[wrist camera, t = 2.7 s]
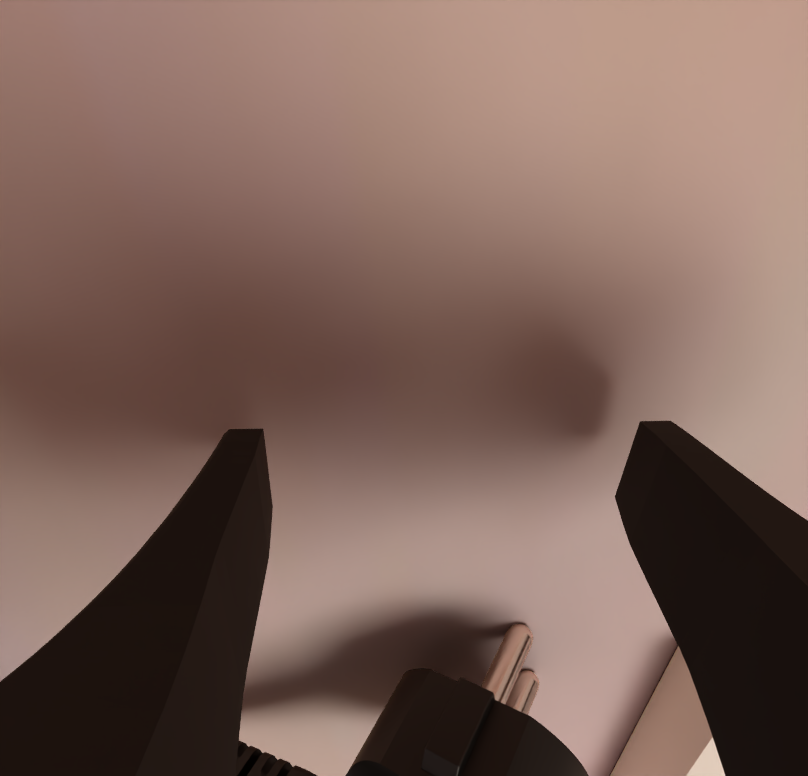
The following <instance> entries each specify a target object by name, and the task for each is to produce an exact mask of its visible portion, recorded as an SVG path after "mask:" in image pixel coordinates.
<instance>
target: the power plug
mask: <svg viewBox="0 0 808 776" xmlns="http://www.w3.org/2000/svg"><path fill="white" fill-rule="evenodd" d="M532 642H533V635H532V632H531V631H530V629H529V628H528V627H527V626H525V625H523V624H515V625H512V626H511V627H509V629H508V630H507V632H506V634H505V636H504V639H503V641H502V643H501V645H500V647H499V649H498V651H497V653H496V655H495V657H494V659H493V662H492V664H491V666H490V668H489V670H488V672H487V674H486V676H485V678H484V680H483V683H482V685H481V686H479V685H476V684H474V683H472V682H470V681H468V680H466V679H463V678H460V679H459V681H458V682H457V681H454V680H452V679H450V678H448V677H446V676H444V675H442V674H440V673H437V672H435V671H433V670H431V669H413V670H409V671H407V672H406V673H405V674H404V675H403V676H402V678H401V680H400V682H399V684H398V685H397V687H396V689H395V691H394V692H393V694H392V696H391V698H390V699H389V701H388V703H387V705H386V706H385V708H384V710H383V712H382V713H381V715H380V717H379V719H378V720H377V722H376V724H375V726H374V727H373V729H372V731H371V733H370V734H369V736H368V738H367V740H366V741H365V743H364V745H363V747H362V748H361V750H360V752H359V754H358V755H357V757H356V759H355V761H354V762H353V764H352V766H351V768H350V769H349V771H348V773H347V774H346V776H588V774H587V772H586V770H585V769H584V767H583V766H582V764H581V763H580V762H579V760H578V759H577V758H576V757H575V755H574V754H573V753H572V752H571V751H570V750H569V749H568V748H567V747H566V746H565V745H564V744H563V743H562V742H561V741H560V740H559V739H558V738H557V737H556V736H555V735H553V734H552V733H551V732H550V731H549V730H547V729H546V728H545V727H544V726H543V725H541V724H540V723H539V722H537V721H536V720H535V719H533V718H532V717H531V716H529V715H528V713H529V711H530V708H531V706H532V703H533V701H534V698H535V696H536V694H537V691H538V688H539V680H538V678H537V676H536V675H535V674H534V673H533V672H532V671H530V670H522V671H520V670H521V668H522V666H523V664H524V661H525V659H526V657H527V655H528V652H529V650H530V648H531V645H532ZM235 776H317V775H315V774H313V773H311V772H310V771H308V770H306V769H303V768H301V767H298V766H294V767H292V765H291V764H290V763H289V762H287V761H285V760H282V759H279V760H277V759H276V758H275V756H273V755H271V754H269V753H266V752H265V753H262V752H261V751H260V750H259V749H257V748H255V747H253V746H249V747H248V746H247V745H246V743H243V742H241V741H239V740H238V750H237V762H236V773H235Z"/></svg>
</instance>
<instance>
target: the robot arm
mask: <svg viewBox="0 0 808 776" xmlns="http://www.w3.org/2000/svg"><path fill="white" fill-rule="evenodd" d="M615 498H616V502H617V505H618V509H619V512H620V515H621V519H622V522H623V525H624V528H625V531H626V534H627V537H628V540H629V543H630V545H631V547H632V550H633V552H634V554H635V556H636V558H637V560H638V563H639V565H640V567H641V569H642V571H643V573H644V575H645V578H646V580H647V582H648V584H649V586H650V588H651V590H652V592H653V594H654V596H655V598H656V600H657V603H658V605H659V607H660V609H661V611H662V613H663V615H664V617H665V619H666V621H667V623H668V625H669V627H670V630H671V632H672V634H673V636H674V638H675V640H676V642H677V644H678V646H679V648H680V651H681V653H682V655H683V658H684V660H685V662H686V665H687V667H688V669H689V672H690V675H691V677H692V680H693V683H694V686H695V688H696V691H697V694H698V697H699V699H700V702H701V705H702V708H703V711H704V713H705V716H706V719H707V722H708V725H709V728H710V731H711V734H712V737H713V740H714V743H715V746H716V749H717V752H718V755H719V758H720V761H721V764H722V767H723V770H724V773H725V776H808V521H807V520H806V519H804V518H803V517H801V516H800V515H799V514H797V513H796V512H794V511H793V510H791V509H790V508H788V507H787V506H785V505H784V504H783V503H781V502H780V501H778V500H777V499H776V498H774V497H773V496H771V495H770V494H769V493H767V492H766V491H765V490H763V489H762V488H760V487H759V486H758V485H756V484H755V483H754V482H752V481H751V480H750V479H748V478H747V477H746V476H744V475H743V474H742V473H740V472H739V471H738V470H736V469H735V468H734V467H732V466H731V465H730V464H728V463H727V462H726V461H724V460H723V459H722V458H720V457H719V456H718V455H717V454H715V453H714V452H713V451H711V450H710V449H709V448H707V447H706V446H705V445H703V444H702V443H701V442H699V441H698V440H697V439H695V438H694V437H693V436H691V435H690V434H689V433H687V432H686V431H684V430H683V429H682V428H680V427H679V426H677V425H676V424H674V423H673V422H671V421H640V423H639V426H638V429H637V432H636V435H635V438H634V441H633V444H632V447H631V450H630V453H629V456H628V459H627V462H626V465H625V468H624V471H623V474H622V477H621V480H620V483H619V486H618V489H617V492H616V495H615ZM272 508H273V506H272V498H271V490H270V481H269V473H268V465H267V456H266V448H265V440H264V432H263V429H229V430H228V431H227V432H226V433H225V434H224V435H223V437H222V439H221V440H220V442H219V443H218V445H217V447H216V448H215V450H214V451H213V453H212V455H211V456H210V458H209V459H208V461H207V462H206V464H205V465H204V467H203V468H202V470H201V471H200V473H199V474H198V475H197V477H196V478H195V480H194V481H193V483H192V484H191V485H190V487H189V488H188V490H187V491H186V492H185V494H184V495H183V496H182V498H181V499H180V500H179V502H178V503H177V504H176V506H175V507H174V508H173V510H172V511H171V512H170V514H169V515H168V516H167V518H166V519H165V520H164V521H163V523H162V524H161V525H160V526H159V527H158V529H157V530H156V531H155V532H154V533H153V535H152V536H151V537H150V538H149V539H148V541H147V542H146V543H145V544H144V545H143V547H142V548H141V549H140V550H139V551H138V553H137V554H136V555H135V556H134V557H133V558H132V559H131V560H130V562H129V563H128V564H127V565H126V566H125V567H124V568H123V569H122V570H121V571H120V573H119V574H118V575H117V576H116V577H115V578H114V579H113V580H112V581H111V582H110V583H109V584H108V585H107V586H106V587H105V588H104V589H103V590H102V591H101V592H100V593H99V594H98V595H97V596H96V597H95V598H94V599H93V600H92V601H91V602H90V603H89V604H88V605H87V606H86V607H85V608H84V609H83V610H82V611H81V612H80V613H79V614H78V615H77V616H76V617H75V618H73V619H72V620H71V621H70V622H69V623H68V624H67V625H66V626H65V627H64V628H63V629H62V630H61V631H60V632H59V633H58V634H56V635H55V636H54V637H53V638H52V639H51V640H50V641H49V642H47V643H46V644H45V645H44V646H43V647H42V648H41V649H39V650H38V651H37V652H36V653H35V654H34V655H33V656H31V657H30V658H29V659H28V660H26V661H25V662H24V663H23V664H22V665H20V666H19V667H18V668H17V669H15V670H14V671H13V672H12V673H10V674H9V675H8V676H7V677H6V678H4V679H3V680H2V681H1V682H0V776H235V773H236V762H237V750H238V740H239V730H240V720H241V710H242V700H243V692H244V685H245V679H246V672H247V667H248V662H249V656H250V651H251V646H252V641H253V636H254V631H255V626H256V621H257V616H258V611H259V605H260V600H261V595H262V590H263V585H264V580H265V574H266V569H267V564H268V558H269V548H270V536H271V522H272Z"/></svg>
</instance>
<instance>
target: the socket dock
mask: <svg viewBox="0 0 808 776" xmlns="http://www.w3.org/2000/svg"><path fill="white" fill-rule="evenodd" d="M610 776H725V773H724V770H723V767H722V764H721V761H720V758H719V755H718V752H717V749H716V746H715V743H714V740H713V737H712V734H711V731H710V728H709V725H708V722H707V719H706V716H705V713H704V711H703V708H702V705H701V702H700V699H699V697H698V694H697V691H696V688H695V686H694V683H693V680H692V677H691V675H690V672H689V669H688V667H687V665H686V662H685V660H684V658H683V655H682V653H681V651H680V648H679V646H678V647H677V649H676V651H675V653H674V655H673V657H672V659H671V661H670V663H669V664H668V666H667V668H666V670H665V672H664V674H663V676H662V678H661V680H660V682H659V684H658V685H657V687H656V689H655V691H654V693H653V695H652V697H651V699H650V701H649V703H648V705H647V706H646V708H645V710H644V712H643V714H642V716H641V718H640V720H639V722H638V724H637V725H636V727H635V729H634V731H633V733H632V735H631V737H630V739H629V741H628V743H627V745H626V746H625V748H624V750H623V752H622V754H621V756H620V758H619V760H618V762H617V764H616V766H615V767H614V769H613V771H612V773H611V775H610Z"/></svg>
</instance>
